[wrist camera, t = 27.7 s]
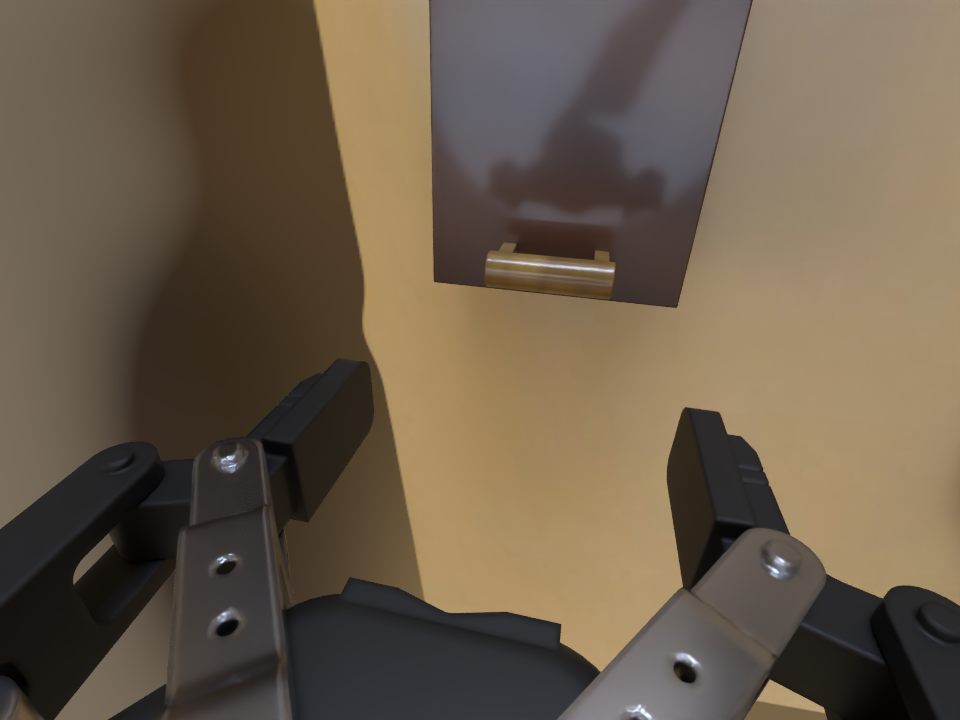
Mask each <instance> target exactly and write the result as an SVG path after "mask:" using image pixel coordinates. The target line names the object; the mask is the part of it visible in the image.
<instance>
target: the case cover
mask: <svg viewBox="0 0 960 720" xmlns="http://www.w3.org/2000/svg"><path fill="white" fill-rule="evenodd" d="M752 1H753V0H429V10H430V72H431V134H432V196H433V258H434V282H439V283H449V284H458V285H467V286H477V287H486V288H495V289H505V290H514V291H524V292H533V293H542V294H552V295H561V296H570V297H580V298H589V299H598V300H608V301H617V302H627V303H636V304H645V305H655V306H664V307H673V308H677V306H678V302H679V298H680V294H681V290H682V286H683V282H684V278H685V274H686V270H687V266H688V262H689V257H690V253H691V249H692V245H693V241H694V237H695V233H696V229H697V225H698V221H699V217H700V213H701V209H702V205H703V201H704V197H705V192H706V188H707V184H708V180H709V176H710V172H711V168H712V164H713V160H714V156H715V152H716V148H717V144H718V140H719V136H720V131H721V127H722V123H723V119H724V115H725V111H726V107H727V103H728V99H729V95H730V91H731V87H732V83H733V79H734V75H735V71H736V66H737V62H738V58H739V54H740V50H741V46H742V42H743V38H744V34H745V30H746V26H747V22H748V18H749V14H750V10H751V5H752Z"/></svg>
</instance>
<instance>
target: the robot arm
mask: <svg viewBox="0 0 960 720" xmlns="http://www.w3.org/2000/svg"><path fill="white" fill-rule="evenodd" d="M373 418H374V404H373V394H372V383H371V374H370V367H369V364H368V363H367V362H364V361H356V360H350V359H342V358H339V359H337V360H336V361H335V362H334V363H333V364H332V365H331V366H330V367H329V368H328V369H327V370H326V371H325V372H324V373H323V374H316V375H314V376H312V377H310V378H308V379H306V380H304V381H302V382H300V383H299V384H298V385H297V386H296V387H295V388H294V389H293V390H292V391H291V392H290V393H289V396H286V397H285V398H284V399H283V400H282V401H281V402H280V403H279V406H276V407H275V408H274V409H273V410H272V411H271V412H270V413H269V414H268V415H267V416H266V417H265V418H264V419H263V420H262V421H261V422H260V423H259V424H258V425H257V426H256V427H255V428H254V429H253V430H252V431H251V432H250V433H249V434H248V435H247V436H246V437H232V438H227V439H224V440H220V441H218V442H216V443H213V444H211V445H210V446H208V447H206V448H205V449H204V450H202V451H201V452H200V453H199V454H198V455H197V457H196V458H195V459H185V460H170V461H161V459H160V456H159V454H158V451H157V449H156V447H154V445H152V444H150V443H146V442H129V443H123V444H119V445H116V446H113V447H110V448H108V449H105V450H103V451H101V452H99V453H98V454H96V455H94V456H93V457H91V458H90V459H89V460H88V461H86V462H85V463H84V464H83V465H81V466H80V467H79V468H77V469H76V470H75V471H74V472H72V473H71V474H70V475H68V476H67V477H66V478H65V479H64V480H62V481H61V482H60V483H58V484H57V485H56V486H55V487H53V488H52V489H51V490H50V491H48V492H47V493H46V494H44V495H43V496H42V497H41V498H39V499H38V500H37V501H36V502H34V503H33V504H32V505H31V506H30V507H28V508H27V509H26V510H24V511H23V512H22V513H20V514H19V515H18V516H17V517H15V518H14V519H13V520H12V521H10V522H9V523H8V524H6V525H5V526H4V527H3V528H1V529H0V720H54V719H55V717H56V716H57V715H58V714H59V712H60V711H61V710H62V709H63V707H64V706H65V705H66V704H67V702H68V701H69V700H70V699H71V698H72V696H73V695H74V694H75V693H76V691H77V690H78V689H79V688H80V686H81V685H82V684H83V683H84V681H85V680H86V679H87V678H88V676H89V675H90V674H91V673H92V672H93V670H94V669H95V668H96V667H97V665H98V664H99V663H100V662H101V660H102V659H103V658H104V657H105V655H106V654H107V653H108V652H109V650H110V649H111V648H112V647H113V645H114V644H115V643H116V642H117V641H118V639H119V638H120V637H121V636H122V634H123V633H124V632H125V631H126V629H127V628H128V627H129V626H130V624H131V623H132V622H133V621H134V619H135V618H136V617H137V616H138V614H139V613H140V612H141V611H142V609H143V608H144V607H145V606H146V605H147V603H148V602H149V601H150V600H151V598H152V597H153V596H154V595H155V593H156V592H157V591H158V590H159V588H160V587H161V586H162V585H163V583H164V582H165V581H166V580H167V578H168V577H169V576H170V575H171V573H172V572H173V571H174V570H175V582H174V594H173V607H172V620H171V633H170V646H169V658H168V671H167V683H166V684H165V685H163V686H162V687H160V688H158V689H157V690H155V691H153V692H152V693H150V694H149V695H147V696H145V697H144V698H142V699H141V700H139V701H138V702H136V703H134V704H133V705H131V706H129V707H128V708H126V709H124V710H123V711H121V712H120V713H118V714H116V715H115V716H113V717H112V718H110V719H108V720H744V719H745V718H746V716H747V714H748V712H749V711H750V710H751V708H752V707H753V705H754V703H755V702H756V700H757V699H758V697H759V695H760V694H761V692H762V691H763V689H764V688H765V686H766V684H767V683H768V681H769V680H770V679H771V680H772V681H774V682H776V683H778V684H780V685H782V686H784V687H786V688H788V689H790V690H792V691H794V692H795V693H797V694H799V695H801V696H803V697H805V698H807V699H809V700H811V701H813V702H815V703H817V704H818V705H820V706H822V707H824V709H825V713H826V716H827V719H828V720H960V606H959V605H957V604H956V603H954V602H952V601H951V600H949V599H947V598H945V597H943V596H941V595H939V594H937V593H935V592H932V591H929V590H927V589H923V588H920V587H915V586H896V587H894V588H892V589H890V590H889V591H888V592H887V594H886V595H885V596H884V598H883V599H882V598H879V597H877V596H875V595H872V594H870V593H867V592H865V591H863V590H860V589H858V588H855V587H853V586H851V585H848V584H846V583H843V582H841V581H839V580H837V579H835V578H833V577H831V576H829V575H828V574H826V571H825V569H824V566H823V564H822V563H821V561H820V559H819V558H818V557H817V556H816V554H815V553H814V552H813V551H812V550H811V549H810V548H808V547H807V546H806V545H805V544H803V543H802V542H800V541H799V540H797V539H796V538H794V537H792V536H790V533H789V531H788V528H787V526H786V523H785V521H784V518H783V516H782V514H781V511H780V509H779V506H778V504H777V501H776V499H775V496H774V494H773V492H772V489H771V487H770V486H769V482H768V479H767V477H766V474H765V472H763V467H762V465H761V462H760V460H759V457H758V455H757V452H756V451H755V450H754V449H753V448H752V447H751V446H750V445H749V444H748V443H747V442H746V441H745V440H744V439H743V438H742V437H741V436H735V435H728V434H727V432H726V429H725V426H724V423H723V420H722V417H721V415H720V413H719V412H716V411H709V410H702V409H695V408H687V407H685V408H684V409H683V411H682V413H681V417H680V420H679V424H678V427H677V431H676V434H675V438H674V441H673V445H672V448H671V452H670V455H669V460H668V466H667V486H668V492H669V498H670V505H671V511H672V518H673V524H674V531H675V537H676V544H677V550H678V557H679V563H680V570H681V576H682V583H683V587H682V588H680V589H679V590H678V591H677V592H676V593H675V594H674V595H673V596H672V597H671V598H670V599H669V600H668V601H667V602H666V603H665V604H664V606H663V607H662V608H661V609H660V610H659V611H658V612H657V613H656V614H655V615H654V616H653V617H652V618H651V619H650V620H649V622H648V623H647V624H646V625H645V626H644V627H643V628H642V629H641V630H640V631H639V632H638V633H637V634H636V635H635V637H634V638H633V639H632V640H631V641H630V642H629V643H628V644H627V645H626V646H625V647H624V648H623V649H622V650H621V651H620V653H619V654H618V655H617V656H616V657H615V658H614V659H613V660H612V661H611V662H610V663H609V664H608V665H607V666H606V668H605V669H604V670H603V671H602V672H600V671H599V670H598V669H597V668H596V667H595V666H594V665H592V664H591V663H590V662H589V661H588V660H586V659H585V658H584V657H583V656H581V655H580V654H578V653H577V652H575V651H574V650H572V649H571V648H569V647H567V646H565V645H564V644H562V643H560V633H561V624H558V623H554V622H549V621H545V620H540V619H536V618H531V617H527V616H522V615H518V614H513V613H509V612H484V613H447V612H444V611H442V610H440V609H438V608H436V607H434V606H432V605H430V604H428V603H426V602H424V601H422V600H420V599H419V598H417V597H415V596H413V595H411V594H409V593H407V592H405V591H403V590H401V589H399V588H396V587H392V586H387V585H382V584H378V583H374V582H369V581H364V580H360V579H355V578H351V577H350V578H349V580H348V581H347V584H346V585H345V587H344V589H343V591H342V593H341V594H333V595H326V596H321V597H317V598H313V599H310V600H307V601H304V602H301V603H299V604H296V603H295V598H294V593H293V585H292V578H291V572H290V566H289V559H288V552H287V545H286V538H285V533H284V529H283V528H284V527H285V525H286V524H287V522H288V521H289V520H290V519H294V520H299V521H304V522H309V521H310V519H311V517H312V516H313V515H314V513H315V512H316V510H317V509H318V507H319V506H320V504H321V503H322V501H323V500H324V498H325V497H326V496H327V494H328V492H329V491H330V490H331V488H332V487H333V485H334V484H335V482H336V480H337V479H338V478H339V476H340V475H341V473H342V472H343V470H344V469H345V467H346V466H347V464H348V463H349V461H350V460H351V458H352V457H353V455H354V454H355V452H356V451H357V449H358V448H359V446H360V445H361V443H362V442H363V440H364V439H365V437H366V436H367V434H368V433H369V431H370V429H371V426H372V423H373ZM108 533H109V535H110V537H111V539H112V541H113V543H114V544H113V545H112V546H111V548H110V549H109V550H108V551H107V552H106V553H105V554H104V555H103V556H102V557H101V558H100V559H99V560H98V561H97V562H96V563H95V564H94V565H93V566H92V567H91V568H90V569H89V570H88V571H87V572H86V573H85V574H84V575H83V576H82V577H81V578H80V579H79V580H78V581H77V582H76V583H75V584H74V585H73V576H74V572H75V570H76V568H77V566H78V564H79V563H80V561H81V560H82V559H83V558H84V557H85V556H86V555H87V554H88V553H89V552H90V551H91V550H92V549H93V548H94V547H95V546H96V545H97V544H98V543H99V542H100V541H101V540H102V539H103V538H104V537H105V536H106V535H107V534H108Z"/></svg>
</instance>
